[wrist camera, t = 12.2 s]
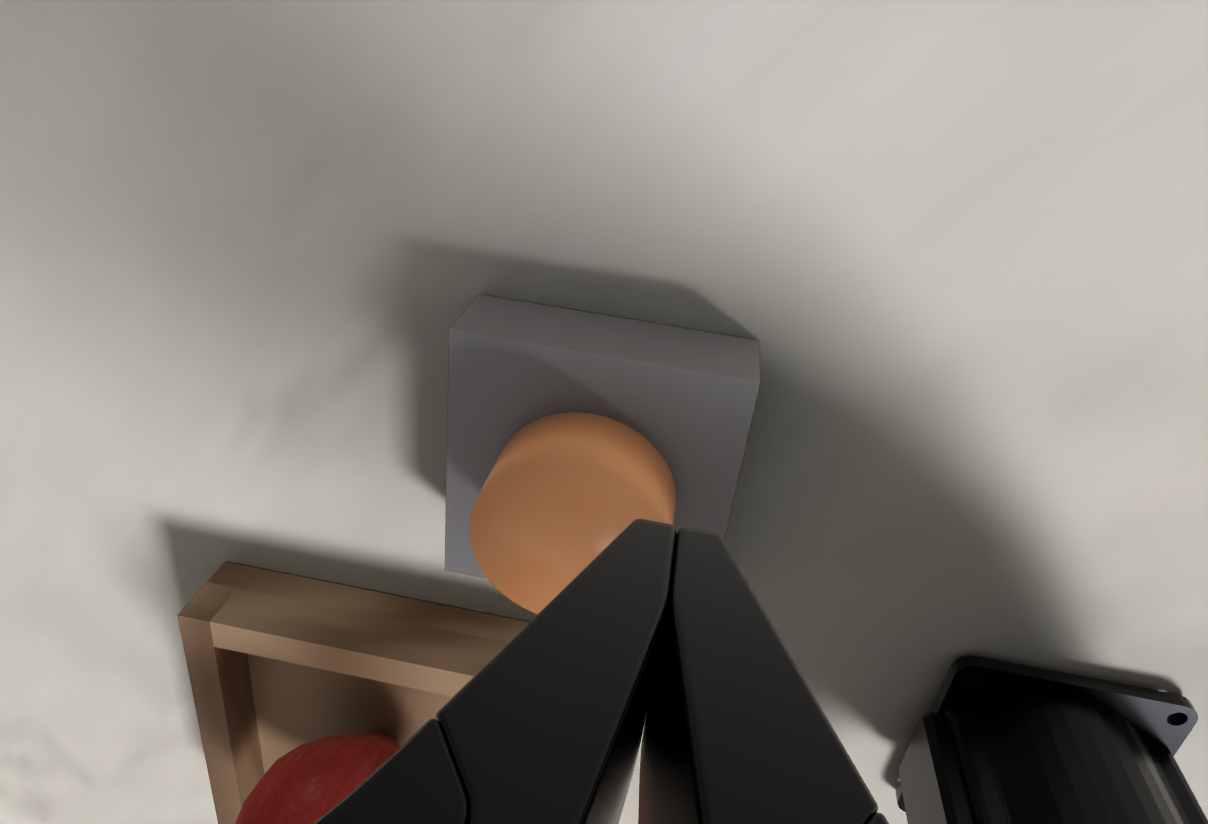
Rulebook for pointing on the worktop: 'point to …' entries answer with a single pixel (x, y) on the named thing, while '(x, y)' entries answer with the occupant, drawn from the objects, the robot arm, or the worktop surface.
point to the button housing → (596, 400)
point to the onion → (315, 778)
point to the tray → (318, 667)
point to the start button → (564, 502)
